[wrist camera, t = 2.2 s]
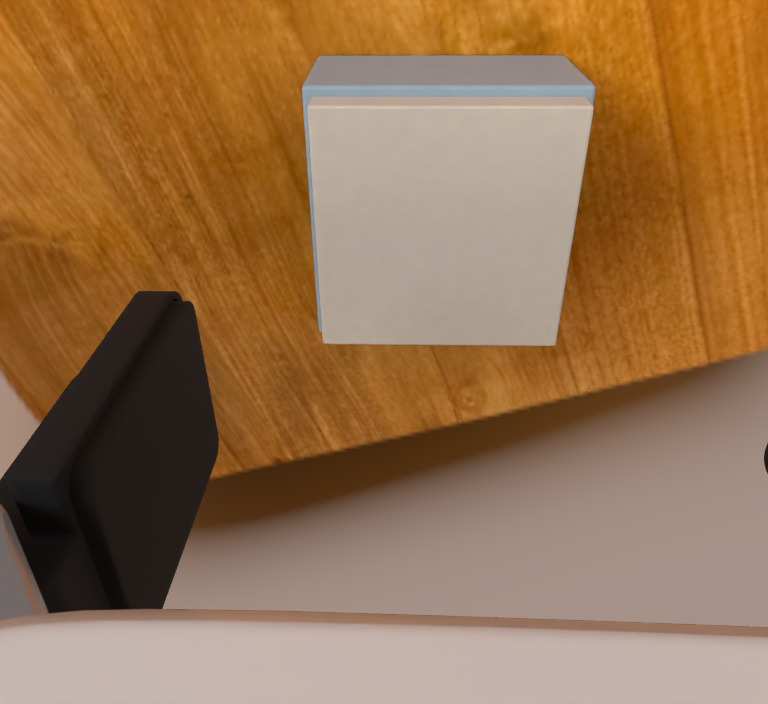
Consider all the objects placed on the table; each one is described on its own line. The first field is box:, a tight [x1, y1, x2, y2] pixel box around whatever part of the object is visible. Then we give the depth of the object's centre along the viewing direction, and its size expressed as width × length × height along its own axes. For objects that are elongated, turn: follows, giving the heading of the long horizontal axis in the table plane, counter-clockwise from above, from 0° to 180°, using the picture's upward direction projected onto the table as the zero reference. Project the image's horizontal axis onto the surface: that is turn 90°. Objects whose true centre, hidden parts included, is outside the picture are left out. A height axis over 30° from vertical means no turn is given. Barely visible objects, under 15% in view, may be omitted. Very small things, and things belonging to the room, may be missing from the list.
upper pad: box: [302, 55, 596, 346], centre depth 16 cm, size 6×6×4 cm
